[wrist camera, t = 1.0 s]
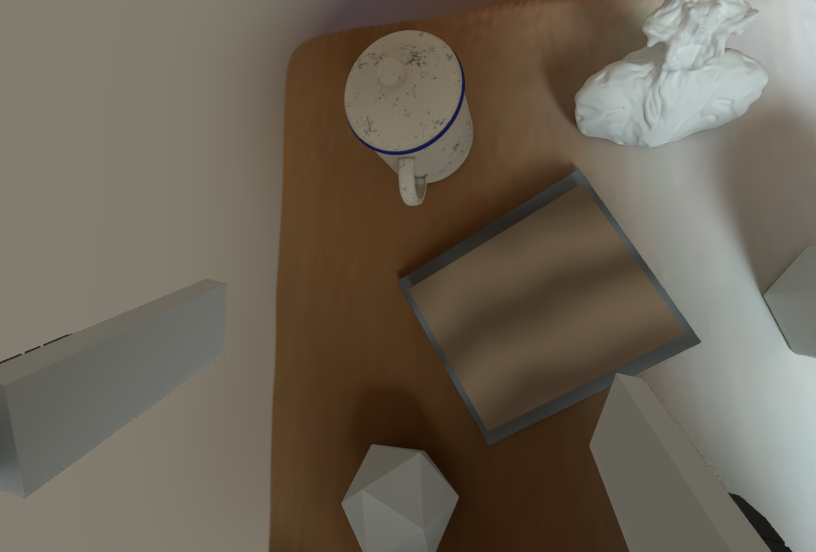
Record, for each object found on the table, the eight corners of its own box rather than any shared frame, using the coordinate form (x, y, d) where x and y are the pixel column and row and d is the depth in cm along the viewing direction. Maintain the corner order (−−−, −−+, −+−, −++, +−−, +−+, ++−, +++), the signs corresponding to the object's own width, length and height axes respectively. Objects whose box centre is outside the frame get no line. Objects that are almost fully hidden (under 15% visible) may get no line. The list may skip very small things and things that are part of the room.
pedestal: (695, 340, 30) (714, 345, 27) (489, 441, 33) (486, 455, 30) (577, 172, 33) (582, 160, 30) (400, 281, 36) (390, 280, 33)
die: (368, 424, 37) (302, 522, 30) (429, 410, 31) (365, 527, 24) (421, 483, 38) (369, 590, 31) (488, 480, 33) (444, 611, 25)
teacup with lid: (383, 97, 38) (327, 13, 27) (477, 86, 35) (459, -13, 24) (380, 219, 37) (320, 185, 26) (475, 216, 35) (455, 176, 24)
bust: (720, 114, 32) (793, -62, 24) (754, 167, 27) (860, -31, 19) (564, 126, 35) (581, -25, 27) (570, 175, 30) (592, 10, 22)
